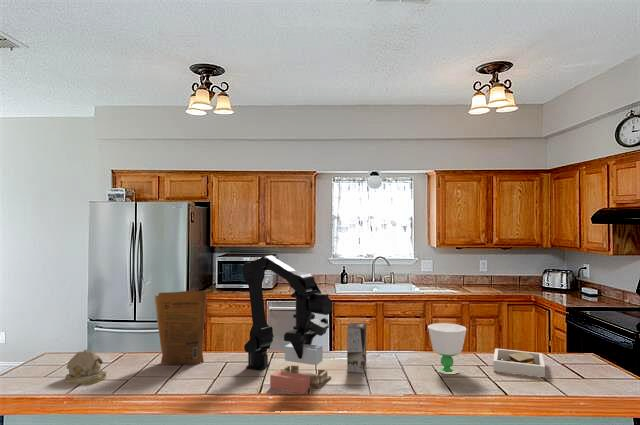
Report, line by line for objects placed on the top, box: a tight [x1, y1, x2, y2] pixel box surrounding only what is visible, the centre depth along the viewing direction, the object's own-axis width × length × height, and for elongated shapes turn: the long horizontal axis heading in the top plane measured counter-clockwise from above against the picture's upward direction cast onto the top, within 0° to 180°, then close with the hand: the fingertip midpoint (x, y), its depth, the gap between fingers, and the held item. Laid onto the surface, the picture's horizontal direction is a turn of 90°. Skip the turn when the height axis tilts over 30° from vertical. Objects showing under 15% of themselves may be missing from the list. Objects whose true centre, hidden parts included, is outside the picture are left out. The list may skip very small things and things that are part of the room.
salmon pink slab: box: [269, 370, 311, 394], centre depth 148 cm, size 12×5×4 cm, turn 67°
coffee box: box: [346, 322, 367, 374], centre depth 167 cm, size 9×6×16 cm
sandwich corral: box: [492, 348, 546, 378], centre depth 168 cm, size 17×17×4 cm
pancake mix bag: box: [154, 290, 208, 366], centre depth 174 cm, size 7×19×28 cm, turn 92°
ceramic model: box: [64, 349, 107, 385], centre depth 157 cm, size 14×11×10 cm
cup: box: [427, 322, 467, 372], centre depth 165 cm, size 14×14×16 cm
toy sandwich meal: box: [500, 351, 536, 365], centre depth 169 cm, size 12×14×5 cm
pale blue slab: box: [284, 342, 324, 366], centre depth 156 cm, size 12×5×5 cm, turn 68°
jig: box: [280, 364, 332, 389], centre depth 155 cm, size 16×10×3 cm, turn 66°
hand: (303, 356), depth 155 cm, fingers closed on pale blue slab, 5 cm apart
